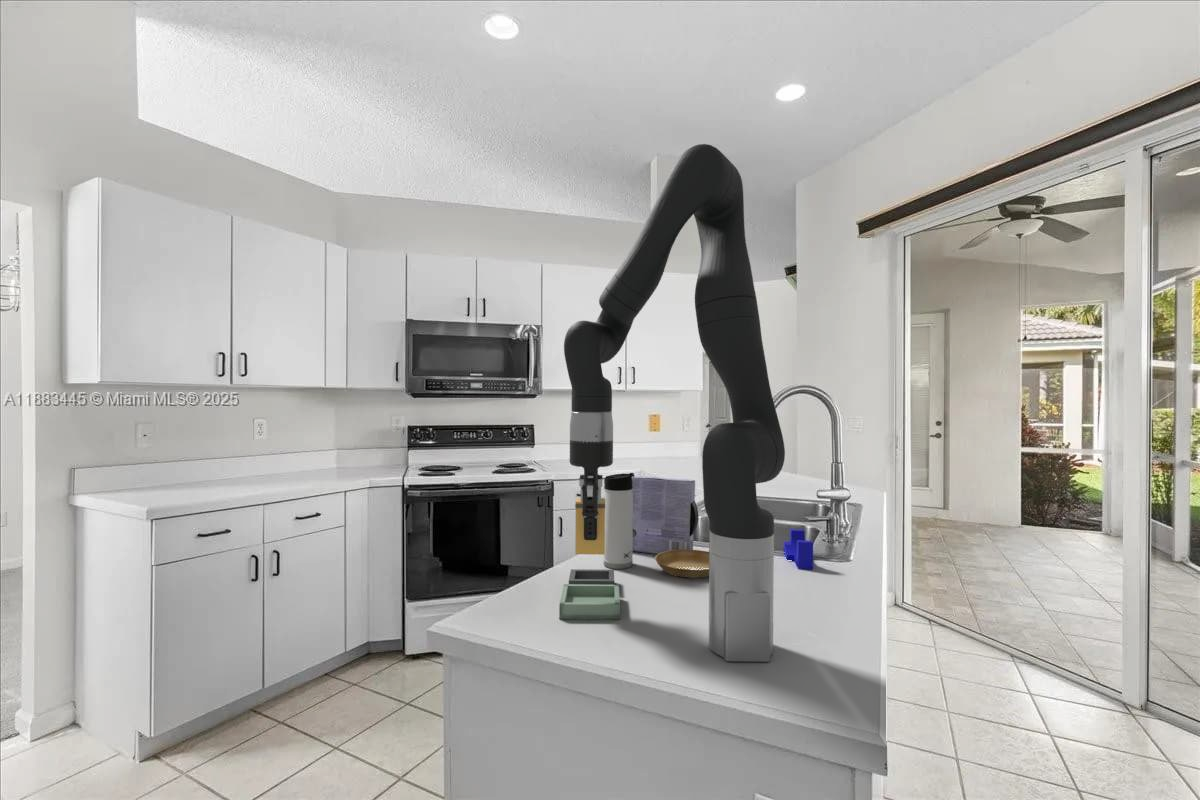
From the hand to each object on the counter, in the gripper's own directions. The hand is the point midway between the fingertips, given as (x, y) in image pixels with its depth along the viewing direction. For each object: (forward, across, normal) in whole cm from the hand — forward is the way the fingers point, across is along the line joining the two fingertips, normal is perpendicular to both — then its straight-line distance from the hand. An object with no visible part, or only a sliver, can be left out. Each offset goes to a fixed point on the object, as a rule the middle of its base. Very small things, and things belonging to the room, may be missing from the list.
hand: (590, 536), depth 102 cm
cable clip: (+13, +29, -45) cm, 55 cm away
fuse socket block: (+13, +10, 0) cm, 16 cm away
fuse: (+3, 0, 0) cm, 3 cm away
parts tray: (+13, 0, 0) cm, 13 cm away
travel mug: (+13, +25, -6) cm, 29 cm away
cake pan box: (+13, +36, -14) cm, 41 cm away
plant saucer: (+13, +22, -20) cm, 33 cm away
